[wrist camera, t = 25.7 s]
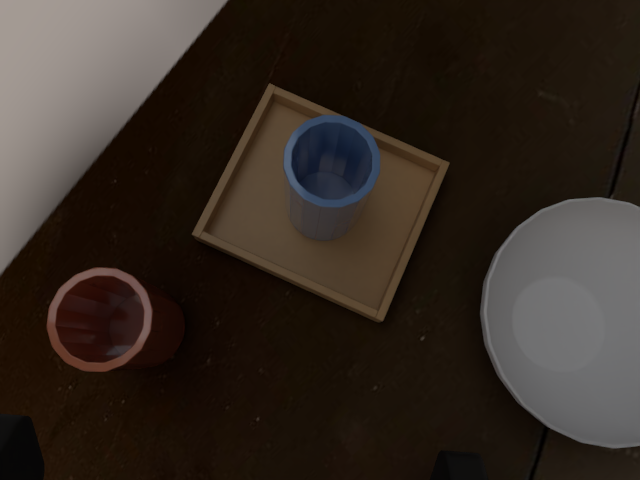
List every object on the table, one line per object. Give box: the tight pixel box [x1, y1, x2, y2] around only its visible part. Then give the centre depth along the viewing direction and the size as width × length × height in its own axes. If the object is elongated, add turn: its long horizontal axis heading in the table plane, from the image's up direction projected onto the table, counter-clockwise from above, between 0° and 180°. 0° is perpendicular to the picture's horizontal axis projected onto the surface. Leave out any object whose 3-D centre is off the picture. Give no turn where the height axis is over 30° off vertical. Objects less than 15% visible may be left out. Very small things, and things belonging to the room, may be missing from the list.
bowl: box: [480, 197, 640, 448], centre depth 39 cm, size 16×16×7 cm
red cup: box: [47, 267, 185, 372], centre depth 37 cm, size 6×6×10 cm
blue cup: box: [283, 115, 380, 241], centre depth 39 cm, size 6×6×10 cm
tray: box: [192, 84, 450, 323], centre depth 43 cm, size 15×13×2 cm
